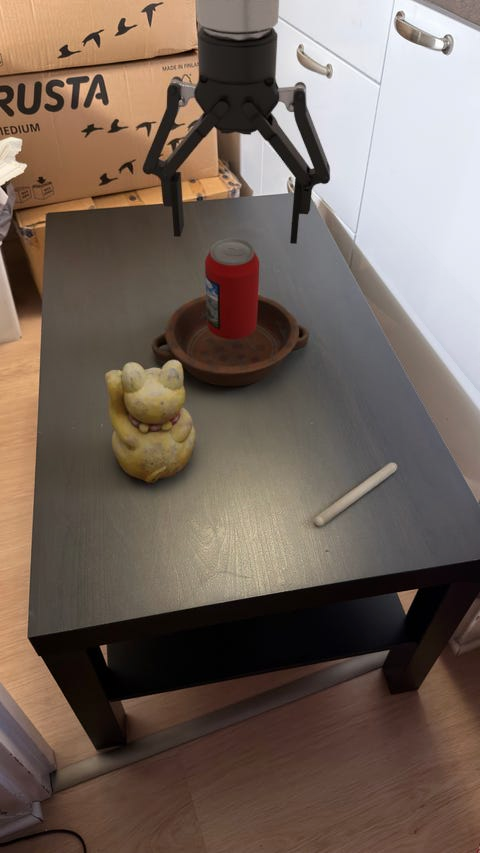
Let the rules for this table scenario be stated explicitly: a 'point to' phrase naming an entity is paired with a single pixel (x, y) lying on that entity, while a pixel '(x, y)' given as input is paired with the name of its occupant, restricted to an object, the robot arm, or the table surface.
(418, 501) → the table surface
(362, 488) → the wooden stick
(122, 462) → the decorative figurine
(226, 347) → the dish
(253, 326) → the beverage can
